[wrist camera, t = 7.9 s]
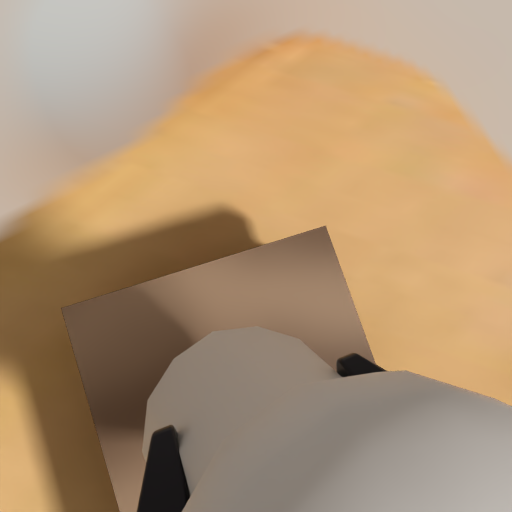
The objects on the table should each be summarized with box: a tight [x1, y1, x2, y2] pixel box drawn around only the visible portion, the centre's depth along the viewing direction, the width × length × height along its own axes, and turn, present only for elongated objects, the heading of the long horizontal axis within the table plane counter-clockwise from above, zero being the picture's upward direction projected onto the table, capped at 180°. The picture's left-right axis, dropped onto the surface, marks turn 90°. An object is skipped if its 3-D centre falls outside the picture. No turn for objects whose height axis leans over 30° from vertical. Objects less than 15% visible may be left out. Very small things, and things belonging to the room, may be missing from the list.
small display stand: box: [61, 226, 375, 512], centre depth 20 cm, size 11×11×4 cm
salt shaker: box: [142, 326, 512, 512], centre depth 9 cm, size 6×6×13 cm
